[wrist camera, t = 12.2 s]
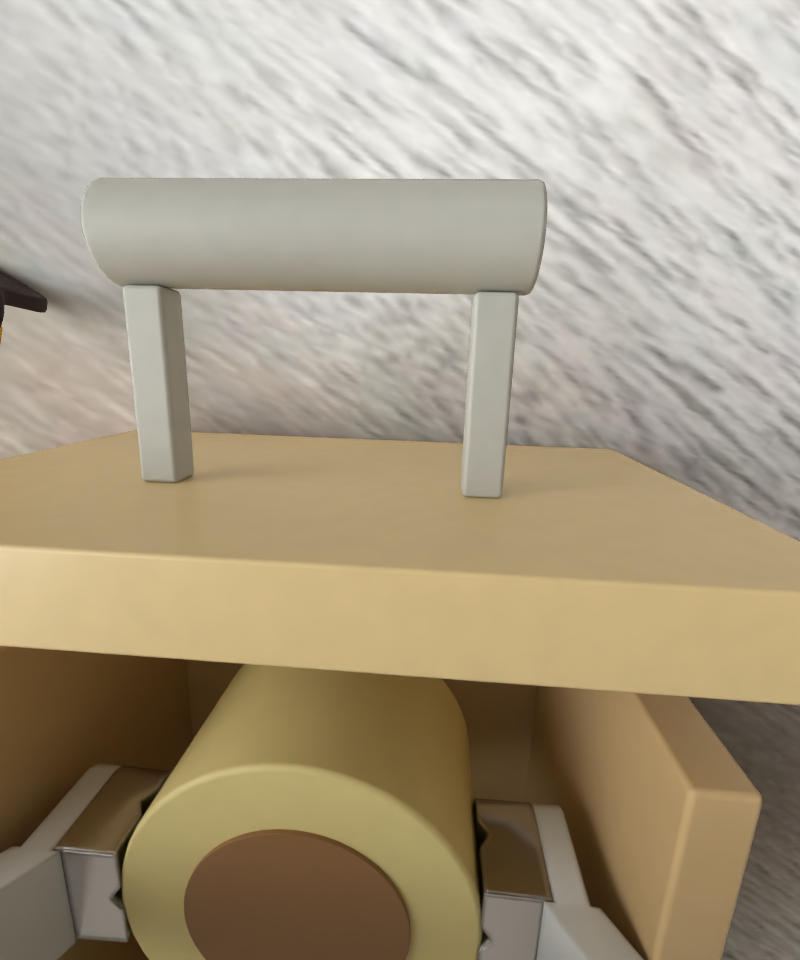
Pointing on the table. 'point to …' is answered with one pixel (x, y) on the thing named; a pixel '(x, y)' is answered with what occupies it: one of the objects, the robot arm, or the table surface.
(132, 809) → the robot arm
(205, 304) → the table surface
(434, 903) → the tape
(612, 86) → the table surface
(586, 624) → the drawer
